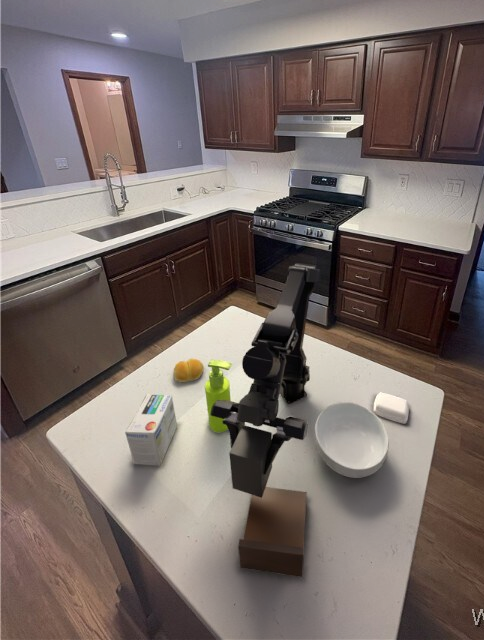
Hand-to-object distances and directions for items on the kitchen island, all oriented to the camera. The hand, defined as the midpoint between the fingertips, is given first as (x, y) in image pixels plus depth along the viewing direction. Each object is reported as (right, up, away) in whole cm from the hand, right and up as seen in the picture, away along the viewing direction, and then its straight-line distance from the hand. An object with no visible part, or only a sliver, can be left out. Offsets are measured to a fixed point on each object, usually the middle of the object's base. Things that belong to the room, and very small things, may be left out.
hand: (249, 468), depth 58 cm
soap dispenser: (-10, -4, +24) cm, 26 cm away
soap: (+36, -3, +28) cm, 45 cm away
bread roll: (-24, +4, +39) cm, 46 cm away
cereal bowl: (+22, -7, +17) cm, 28 cm away
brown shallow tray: (+5, -13, +2) cm, 14 cm away
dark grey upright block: (0, -4, +3) cm, 5 cm away
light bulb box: (-25, -6, +18) cm, 31 cm away
